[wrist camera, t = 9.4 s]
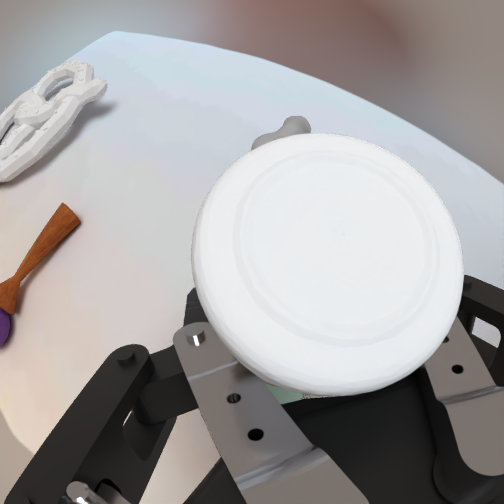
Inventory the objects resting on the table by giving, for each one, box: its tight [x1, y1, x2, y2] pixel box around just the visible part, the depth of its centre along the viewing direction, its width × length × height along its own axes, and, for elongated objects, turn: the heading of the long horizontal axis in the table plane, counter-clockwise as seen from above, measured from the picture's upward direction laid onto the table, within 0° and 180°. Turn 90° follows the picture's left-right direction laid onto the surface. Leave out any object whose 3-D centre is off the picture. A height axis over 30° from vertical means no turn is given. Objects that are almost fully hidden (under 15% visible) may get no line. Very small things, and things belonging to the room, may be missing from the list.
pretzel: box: [0, 60, 107, 182], centre depth 38 cm, size 28×24×6 cm
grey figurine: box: [251, 116, 311, 151], centre depth 34 cm, size 4×8×5 cm
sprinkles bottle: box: [191, 133, 464, 396], centre depth 10 cm, size 5×5×13 cm
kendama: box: [0, 203, 80, 346], centre depth 28 cm, size 6×6×20 cm
